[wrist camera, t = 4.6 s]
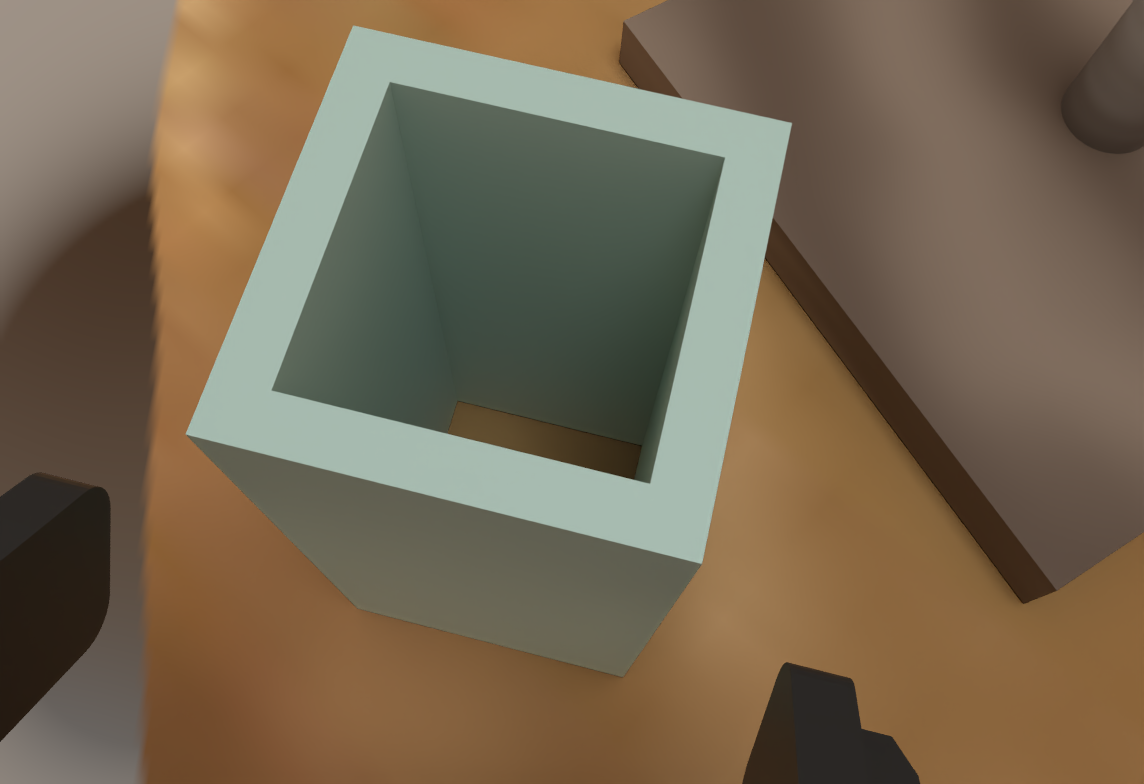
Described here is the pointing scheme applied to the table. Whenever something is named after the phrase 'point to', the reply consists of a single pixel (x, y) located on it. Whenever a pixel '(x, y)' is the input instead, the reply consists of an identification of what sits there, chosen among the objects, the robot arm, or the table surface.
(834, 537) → the table surface
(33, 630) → the robot arm
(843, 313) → the post board
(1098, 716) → the table surface
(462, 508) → the square hollow tube
